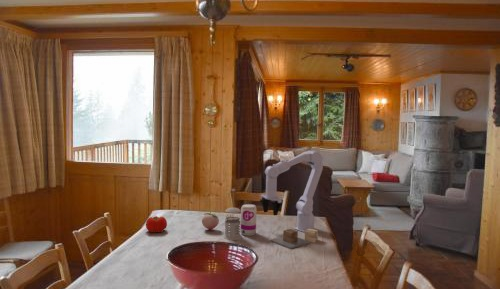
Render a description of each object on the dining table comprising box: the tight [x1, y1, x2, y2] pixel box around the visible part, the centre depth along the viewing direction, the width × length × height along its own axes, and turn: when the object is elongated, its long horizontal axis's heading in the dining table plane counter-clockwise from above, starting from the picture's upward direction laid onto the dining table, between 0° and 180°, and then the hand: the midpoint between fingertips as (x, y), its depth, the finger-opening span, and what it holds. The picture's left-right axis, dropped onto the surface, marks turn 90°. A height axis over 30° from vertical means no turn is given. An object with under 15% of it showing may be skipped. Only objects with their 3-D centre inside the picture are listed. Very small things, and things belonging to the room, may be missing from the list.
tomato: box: [145, 215, 168, 233], centre depth 198 cm, size 11×11×8 cm
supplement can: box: [240, 203, 258, 237], centre depth 197 cm, size 8×8×15 cm
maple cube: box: [304, 229, 319, 243], centre depth 189 cm, size 5×5×5 cm
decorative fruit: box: [201, 211, 220, 231], centre depth 202 cm, size 9×8×10 cm
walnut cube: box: [282, 228, 299, 243], centre depth 185 cm, size 5×5×5 cm
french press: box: [222, 188, 243, 241], centre depth 190 cm, size 10×12×25 cm
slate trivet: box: [269, 236, 311, 250], centre depth 185 cm, size 14×14×1 cm
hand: (270, 213), depth 202 cm, fingers open, 7 cm apart
